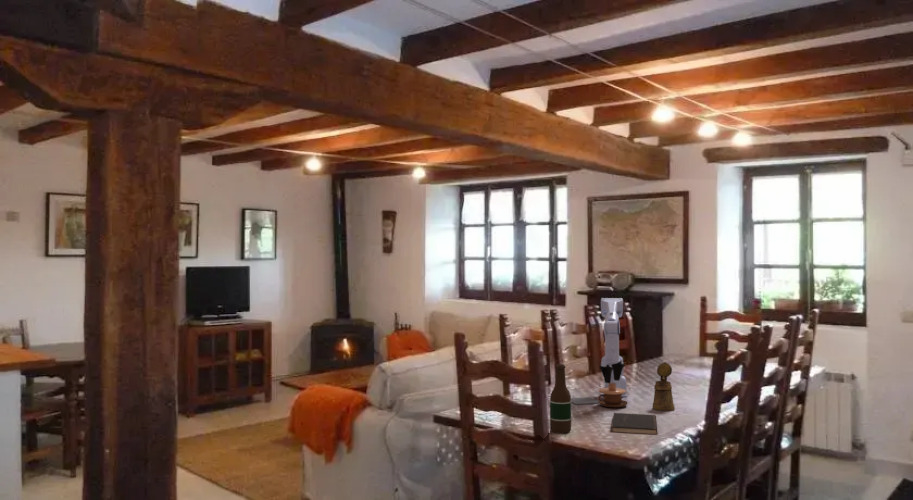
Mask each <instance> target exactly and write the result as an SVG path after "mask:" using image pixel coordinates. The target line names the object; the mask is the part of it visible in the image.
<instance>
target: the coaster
mask: <svg viewBox="0 0 913 500" xmlns="http://www.w3.org/2000/svg"><path fill="white" fill-rule="evenodd" d="M598 401H599V400H598V399H595V398H593V397H590V396H586V397H584V396H583V397H571V404H573V405H575V406H582V405H595V404H596V405H598V404H599V402H598ZM599 405H600V404H599Z"/></svg>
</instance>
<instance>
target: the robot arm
mask: <svg viewBox="0 0 913 500" xmlns="http://www.w3.org/2000/svg"><path fill="white" fill-rule="evenodd" d="M600 311H601V313H600V314H601V317H603V318H604V323H603V333H604V339H605V340H604V356H602V358H601V362H600V365H599V369H600V372H601V373H600V374H602V376H603V379H604V381H603V385H604V387H603V388H609V383H616V388H620V389H624V390H626V393H625V394H622V398H624V397H628V394H627V390H628V389H627V379H626V377H625V376H624V367H625V365H626V364H625V363H624V358H623V357H622V356H621V355H620V334H621V328H620V327H621V326H620V325H621V324H620V320H619V318H622V316H623V315H624V314H623V311H624V299H623V298H622V297H618V298H617V297H615V298H614V297H611V298H610V297H609V298H608V297H605V298H604V297H601V299H600ZM601 394H603V393H600V395H601Z"/></svg>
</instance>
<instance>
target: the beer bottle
mask: <svg viewBox="0 0 913 500" xmlns="http://www.w3.org/2000/svg"><path fill="white" fill-rule="evenodd" d="M554 368H555V383H554V388H553V389H552V391H551V393H550V396H549V397H550V399H549V411H550V412H549V421H550V422H549V428H550V429H549V430H550V432H552V433H554V434H569V433H570V432H571V431H572V403H571V398H572V396H571V395H572V394H571V393H570V390H569V389H568V387H567V383H566V365H565V364H562V363H561V364H559V363H558V364H556V365H555V367H554Z"/></svg>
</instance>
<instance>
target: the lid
mask: <svg viewBox="0 0 913 500" xmlns="http://www.w3.org/2000/svg"><path fill="white" fill-rule="evenodd" d="M598 392H599V393H600V394H601V393H603V394H610V395H619V394H625V393H626V390H624V389H620V388H616V383H609V388H604V387H601V388H599V389H598Z"/></svg>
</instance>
